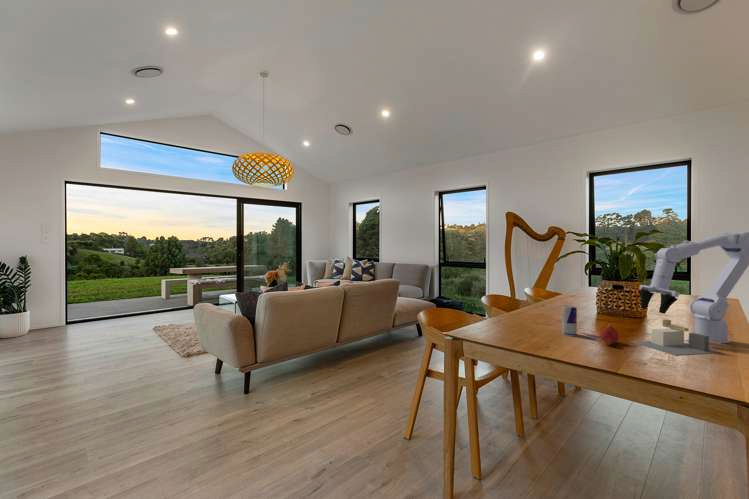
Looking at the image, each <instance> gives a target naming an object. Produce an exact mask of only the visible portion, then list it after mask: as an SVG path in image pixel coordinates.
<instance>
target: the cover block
mask: <svg viewBox="0 0 749 499" xmlns="http://www.w3.org/2000/svg"><path fill="white" fill-rule="evenodd" d="M650 332H651V334H650V336H651V340H650V341H651V343H655V344H658V345H662V346H669V345H684V343H685V331H682V330H677V329H673V328H668V327H665V328H651V331H650Z"/></svg>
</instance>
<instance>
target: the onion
mask: <svg viewBox="0 0 749 499" xmlns="http://www.w3.org/2000/svg"><path fill="white" fill-rule="evenodd" d="M599 334H600V335H599V336H600V338H601V340H602V341H603V342H604V343H605V344H606V345H607V346H612V345H613V344H615V343H616V342H618V340H619V337H620V335H619V332H618V330H617V329H616V328H614V327H613V326H612V324H611V323H609V324H608V325H606V326H604V327H603V328H602V329H601V330H600V333H599Z"/></svg>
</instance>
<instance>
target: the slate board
mask: <svg viewBox="0 0 749 499" xmlns="http://www.w3.org/2000/svg"><path fill="white" fill-rule="evenodd" d="M688 333H689V334H688V343H686V342H684V345H669V346H662V345H658V344H655V343H651V340H650V341H648V340H647V341H646V340H642V341H641V340H637V341H636V340H630V341H629V342H630V343H634V344H637V345H640V346H643V347H647V348H650V349H653V350H656V351H660V352H662V353H666V354H668V355H672V356H676V357H678V356H690V355H691V356H692V355H693V356H694V355H705V354H706V355H707V354H720V353H721V352H720V351H717V350H714V349H710V341H709V336H705V335H701V334H696V333H695V332H688Z"/></svg>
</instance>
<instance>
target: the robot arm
mask: <svg viewBox="0 0 749 499" xmlns="http://www.w3.org/2000/svg"><path fill="white" fill-rule="evenodd" d="M714 247H720V248H721V250H722V251H723V252H724V253H725V254H726V255H727V256H728V257H729V260H728V261H727V263H726V264H725V266H724V267H723V269H722V270H721V272H720V273H719V274H718V276H717V278H715V281H713V283H712V284H711V286H710V288H709V289H708V291H707V292H705V293H702V294H700V295H698V297H697V298H696V299H694V300H692V302H690V304H689V310H690V311H691V313H692V314H693V316H694V317H695V318H694V333H696V334H701V335H705V336H709V342H714V343H718V344H729V343H731V341H729V338H728V336H729V335H728V334H729V332H728V330H729V329H728V328H729V327H728V323H727V322H726V320H724V318H725V316H726V315H727V311H728V307H729V306H730V304H729V302H728V301H727V300H726V299H727V297H728V296H729V294H730V293H731V292H732V290H733V289H734V287H735V286H736V284H738V282H739V280H740V279H741V277H742V276H743V274H744V273H745V272H746V270H747V268H748V267H749V231H745V232H735V233H733V232H731V233H730V232H729V233H728V232H725V233H721V234H716V235H714V236H711V237H708V238H705V239H702V240H700V241H696V242H695V241H692V240H690V241H689V240H683V241H682V243H679V244H671V245H670V247H662V248H659V250H658V251H657V252H655V254H654V256H655V259H656V262H655V267H654V268H655V269H654V271H653V275H652V278H651V282H650V285H645V284H644V285H643V284H639V288H638V295H639V298H640V309H645V310H647V308H648V307H649V304H650V301H651V299H652V298H653V296H654V295H655V293H656V294H660V304H659V305H660V306H659V309H658V312H659V313H660V314H664V315H665V314H666V313H667V311H668V310H669V309H670V307H671V306H672V305H673V304H674V303H675V302H676V301H677V300H678V298H679V296H680V293H681V292H679V291H676V290H671V289H670V286H671V282H672V279H673V275H674V272H675V268H676V266H677V263H679V262H681V261H682V260H683V259H684V260H685V259H687V258H691V257H693V256H697V255H698V254H700V251H703V250H706V249H707V250H708V249H710V248H714Z"/></svg>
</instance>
